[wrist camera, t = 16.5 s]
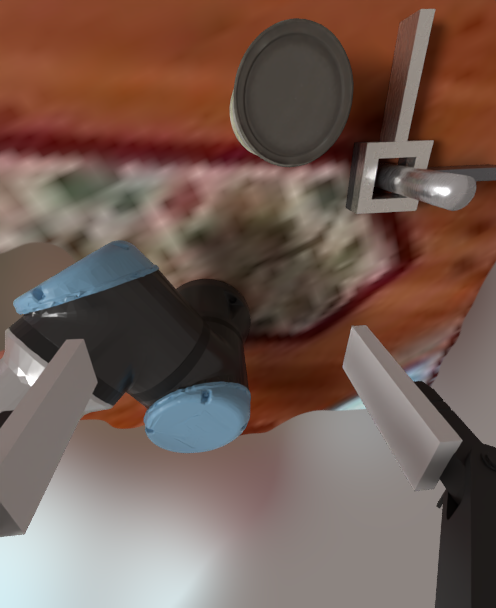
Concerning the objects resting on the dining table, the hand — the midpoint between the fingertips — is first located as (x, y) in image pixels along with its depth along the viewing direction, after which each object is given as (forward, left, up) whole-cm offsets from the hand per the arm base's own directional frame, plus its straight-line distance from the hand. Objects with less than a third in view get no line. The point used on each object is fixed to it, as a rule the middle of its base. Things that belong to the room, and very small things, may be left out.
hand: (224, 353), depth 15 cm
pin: (+4, -23, -32) cm, 40 cm away
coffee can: (+12, -7, -32) cm, 35 cm away
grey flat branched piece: (+10, -29, -32) cm, 44 cm away
